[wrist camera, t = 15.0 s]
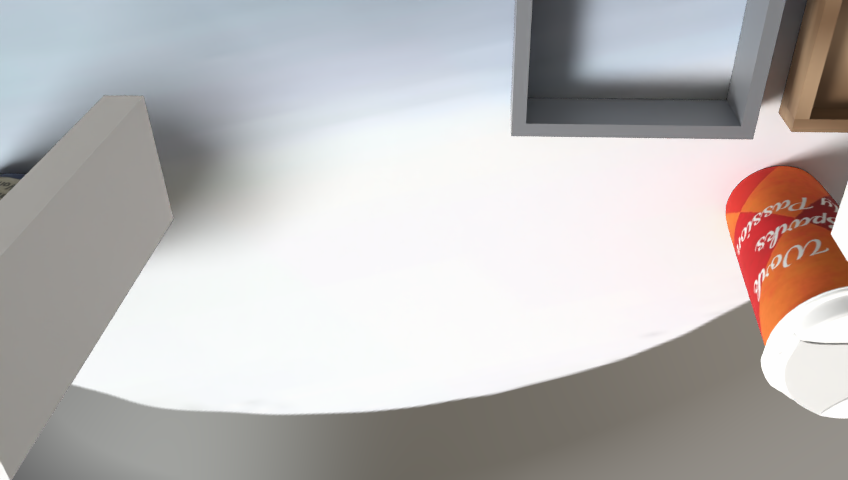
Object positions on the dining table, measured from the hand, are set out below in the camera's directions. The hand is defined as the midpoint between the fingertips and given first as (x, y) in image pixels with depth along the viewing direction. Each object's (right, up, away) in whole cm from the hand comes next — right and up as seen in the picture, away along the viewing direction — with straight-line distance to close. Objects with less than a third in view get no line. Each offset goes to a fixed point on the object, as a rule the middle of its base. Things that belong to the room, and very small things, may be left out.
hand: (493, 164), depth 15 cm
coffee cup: (+21, +1, +36) cm, 42 cm away
